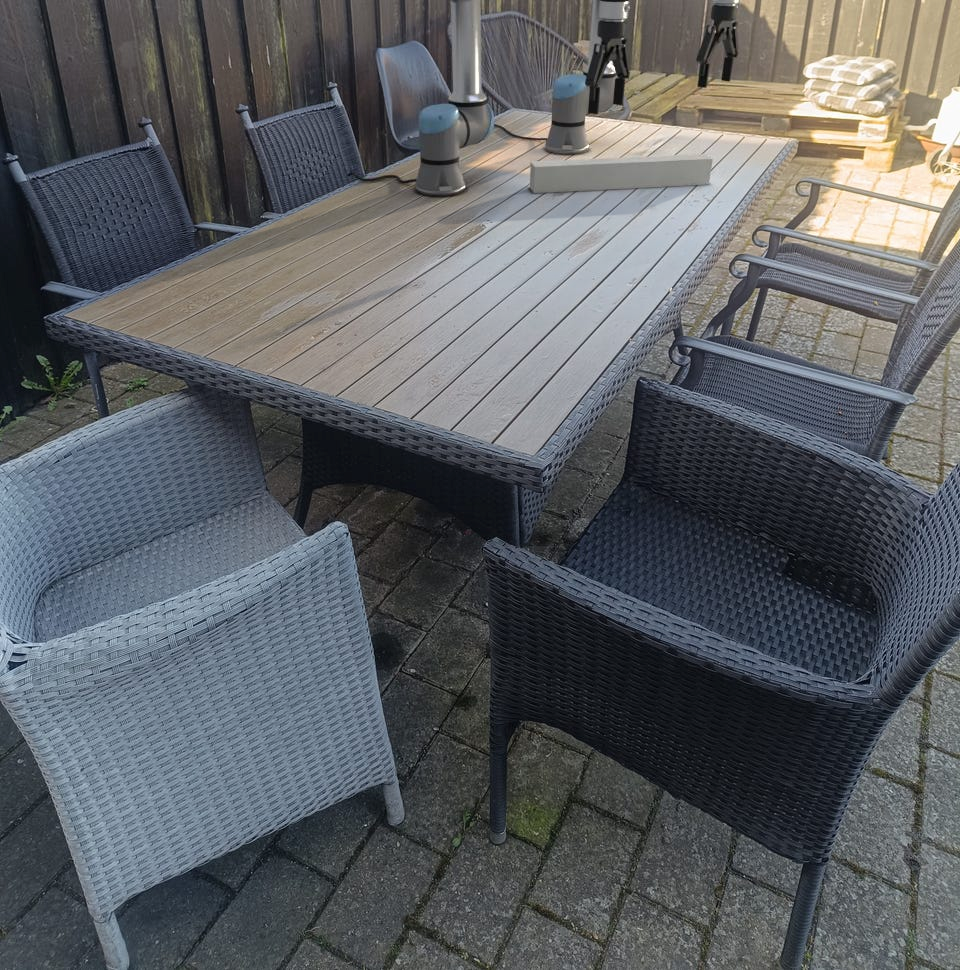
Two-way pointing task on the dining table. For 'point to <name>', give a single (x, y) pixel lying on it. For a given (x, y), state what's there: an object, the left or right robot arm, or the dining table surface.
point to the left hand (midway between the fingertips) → (605, 109)
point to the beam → (620, 173)
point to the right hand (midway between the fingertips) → (713, 84)
